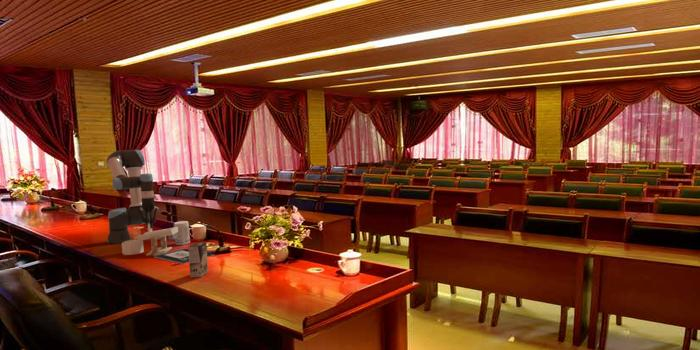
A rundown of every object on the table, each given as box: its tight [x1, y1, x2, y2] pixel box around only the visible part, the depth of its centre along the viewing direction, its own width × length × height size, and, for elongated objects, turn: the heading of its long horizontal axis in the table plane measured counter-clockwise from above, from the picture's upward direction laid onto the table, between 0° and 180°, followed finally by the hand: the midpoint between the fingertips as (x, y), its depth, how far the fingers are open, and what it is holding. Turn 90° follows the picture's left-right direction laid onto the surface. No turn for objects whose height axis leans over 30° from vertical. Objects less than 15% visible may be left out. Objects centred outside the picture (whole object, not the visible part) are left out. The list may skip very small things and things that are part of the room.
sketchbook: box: [153, 247, 215, 265], centre depth 278 cm, size 22×30×2 cm
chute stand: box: [145, 236, 173, 257], centre depth 292 cm, size 9×17×10 cm, turn 178°
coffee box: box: [188, 241, 209, 278], centre depth 238 cm, size 9×6×16 cm
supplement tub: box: [173, 220, 191, 246], centre depth 313 cm, size 10×10×15 cm
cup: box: [121, 239, 145, 256], centre depth 292 cm, size 11×11×7 cm
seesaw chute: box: [136, 226, 178, 241], centre depth 295 cm, size 22×18×7 cm
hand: (150, 233), depth 301 cm, fingers closed
